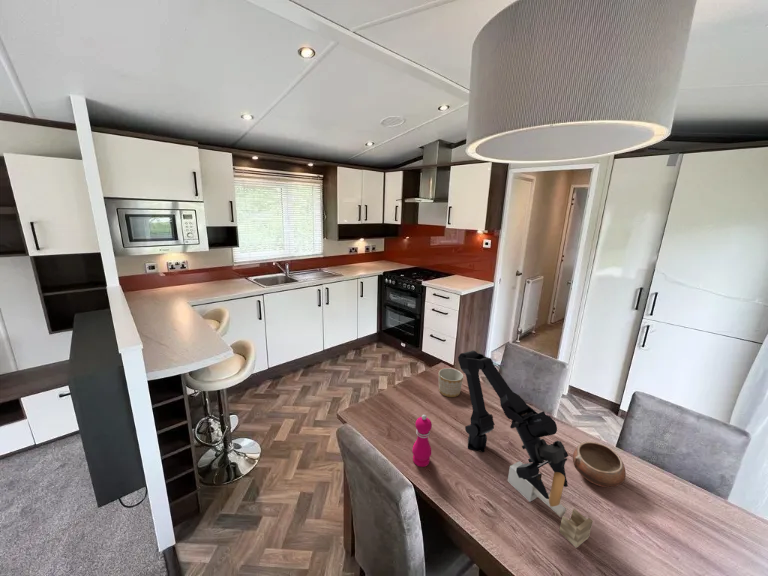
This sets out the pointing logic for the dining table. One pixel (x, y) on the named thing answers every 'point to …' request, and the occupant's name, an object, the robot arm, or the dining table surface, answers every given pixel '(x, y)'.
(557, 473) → the multicoloured piece
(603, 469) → the bowl
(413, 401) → the dining table surface
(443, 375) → the planter
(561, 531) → the end socket
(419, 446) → the pepper mill
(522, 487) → the outer sleeve
